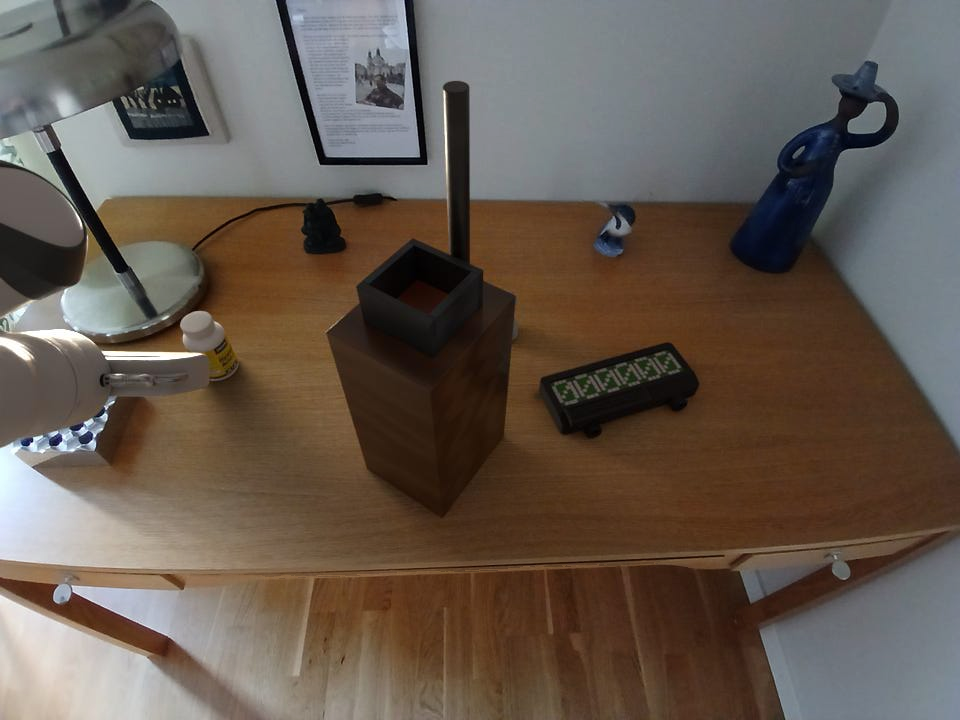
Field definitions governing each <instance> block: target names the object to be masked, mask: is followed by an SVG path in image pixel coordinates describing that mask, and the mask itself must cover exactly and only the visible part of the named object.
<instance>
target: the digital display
mask: <svg viewBox="0 0 960 720" xmlns="http://www.w3.org/2000/svg"><path fill="white" fill-rule="evenodd" d="M699 387H700V381H699V378H698V376H697V375H696V373H695V371H694V370H693V368H692V367H691V366H690V364H688V362H687V361H686V359H685V358H684V357H683V355H682V354H681V353H680V352H679V350H678V349H677V348H676V346H674V344H673V343H672V342H668V341H665V342H662V343H659V344H655V345H652V346H648V347H644V348H640V349H637V350H634V351H630V352H627V353H623V354H620V355H615V356H612V357H609V358H605V359H602V360H598V361H595V362H591V363H588V364H584V365H581V366H577V367H573V368H570V369H566V370H563V371H559V372H555V373H552V374H548V375H544V376H542V377H541V378H540V380H539V386H538V394H539V396H540V397H541V400H542V401H543V404H544V405H545V407H546V408H547V410H548V412H549V415H550V417H551V418H552V420H553V422H554V424H555V425H556V428H557V430H558V431H559V433H560V434H562V435H563V436H564V435H569V434H573V433H576V432H579V431H584V433H585V435H586V437H587V438H589V439H594V438H597V437H598V436H600V435H601V434H602V432H603V428H602V427H601V425H602V424H605V423H608V422H611V421H615V420H618V419H621V418H624V417H627V416H631V415H634V414H637V413H640V412H644V411H647V410H651V409H654V408H657V407H661V406H665V405H666V404H669V406H670V407H671V409H672V410H673V411H675V412H680V411H682V410H684V409H686V407H687V406H688V400H687V399H686V398H689V397H693V396H695V395H696V393H697V391H698V389H699Z"/></svg>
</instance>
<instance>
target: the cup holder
mask: <svg viewBox="0 0 960 720" xmlns="http://www.w3.org/2000/svg"><path fill="white" fill-rule="evenodd" d="M470 90H471V87H470V85H469V83H467V82H465V81H462V80H450V81H447V82H445V83H444V84H443V85H442V103H443V105H442V107H443V129H444V131H443V132H444V156H445V158H444V159H445V179H446V180H445V183H446V207H447V232H448V233H447V234H448V253H447V252H446V251H445V252H444V251H442V250H440V249H438V248H437V247H434V246H431V245H429V244H427V243H425V242H423V241H420V240H418V239H416V238H414V237H413V238H411V239H410V240H408V242H406V243H405V244H403V245H402V246H401V247H399V249H397V250H396V251H395V252H394V253H393V254H391V255H390V256H389V257H388V258H386V259H385V260H384V261H383V262H382V263H381V264H380V265H379V266H377V267H376V268H375V269H374V270H373V271H372V272H370V273H369V274H368V275H367V276H366V277H364V278H363V279H362V280H361V281H360V282H359V283H358V284H357V285H355V289H356V293H357V299H358V303H357V304H356V305H355V306H354V307H353V308H351V310H349V311H348V312H347V313H346V314H344V315H343V316H342V317H341V318H340V319H339V320H338V321H336V322H335V324H333V325H332V326H331V327H330V328H329V329H327V331H325V334H326V337H327V340H328V344H329V347H330V350H331V354H332V357H333V361H334V365H335V367H336V371H337V374H338V377H339V380H340V381H339V382H340V383H341V388H342V390H343V393H344V397H345V401H346V403H347V408H348V410H349V415H350V418H351V421H352V424H353V427H354V430H355V431H354V432H355V434H356V437H357V439H358V441H357V442H358V445H359V447H360V452H361V454H362V457H363V461H364V464H365V467H366V469H367V470H368V471H370V472H371V473H372V474H373V475H376V477H379V478H380V479H382V480H383V481H385V482H386V483H388V484H389V485H391V486H392V487H394V488H396V489H397V490H398V491H400V492H401V493H404V494H405V495H406V496H408V497H409V498H411V499H412V500H414V501H415V502H417V503H419V504H420V505H422V507H425V508H426V509H427V510H429V511H431V513H434V514H435V515H437V516H438V517H440V518H441V519H443V518H444V517H445V516H446V514H447V513H448V512H449V511H450V510H451V508H452V506H453V505H454V504H455V503H456V501H457V500H458V498H459V497H460V495H461V494H462V493H463V492H464V491H465V489H466V488H467V486H468V485H469V484H470V482H471V481H472V479H473V478H474V477H475V475H476V474H477V473H478V472H479V470H480V469H481V467H482V466H483V465H484V463H485V462H486V461H487V459H488V458H489V457H490V456H491V454H492V453H493V452H494V450H495V449H496V447H497V446H498V445H499V443H500V442H501V441H502V439H503V438H504V436H505V427H506V415H507V407H508V394H509V393H508V392H509V381H510V368H511V360H512V359H511V358H512V346H513V340H512V336H513V324H514V319H515V312H516V305H515V301H516V298H517V295H516V294H514V293H513V294H511V293H510V291H508V290H507V291H505V290H506V289H502V288H500V287H498V286H496V285H494V284H492V283H490V282H487V281H485V280H484V269H483V268H481V267H478V266H476V265H473V264H472V263H471V168H470V167H471V159H470V158H471V154H470V153H471V150H470V149H471V142H470V141H471V140H470V139H471V137H470V135H471V134H470V133H471V126H470V125H471V124H470V123H471V122H470V121H471V119H470V118H471V117H470V113H471V111H470V110H471V109H470V108H471V107H470V106H471V104H470V99H471V98H470V96H471V95H470V94H471V93H470Z"/></svg>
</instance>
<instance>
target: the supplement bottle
mask: <svg viewBox="0 0 960 720" xmlns="http://www.w3.org/2000/svg"><path fill="white" fill-rule="evenodd" d="M179 326H180V329H181V331H182V333H183V335H182V343H183V346H184V348H185V349H186V352H187V353H203V354H205V355H207V357H208V359H209V368H210V380H209V381H211V382H218V381H223V380H226V379H228V378H229V377H231V376H233V374H235V373H236V372H237V370H238V367H239V365H240V363H239V362H240V360H239V358H238V355H237V354H236V351H235V349H234V348H233V345H232V343H231V341H230V339H229V337H228V335H227V333H226V331H225V328H224V327H223V326H222V325H221V324H220V323H218V322H217V321H215V320H214V319H213V317H212V315H211V314H210V313H209V312H207V311H203V310H197V311H192V312H190V313H188V314H187V315H185V316H184V317H183V318H182V319H181V321H180V324H179Z"/></svg>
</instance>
